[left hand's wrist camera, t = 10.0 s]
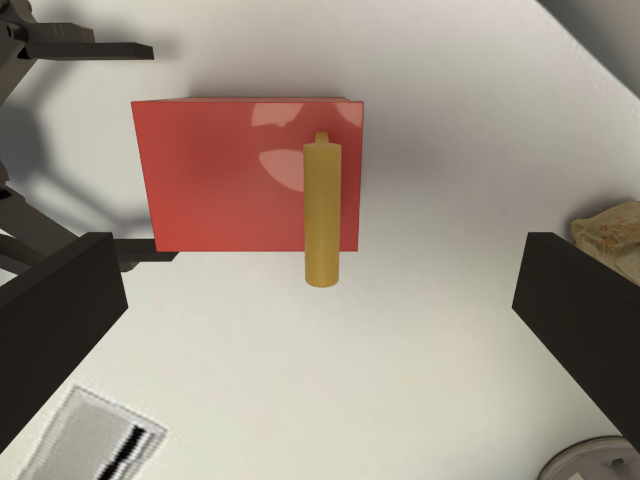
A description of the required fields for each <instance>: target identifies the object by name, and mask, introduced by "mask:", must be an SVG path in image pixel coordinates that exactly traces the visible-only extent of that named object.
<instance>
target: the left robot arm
mask: <svg viewBox="0 0 640 480" xmlns="http://www.w3.org/2000/svg"><path fill="white" fill-rule="evenodd" d="M127 309H128V304H127V299H126V294H125V290H124V285H123V281H122V276H121V272H120V267H119V262H118V258H117V253H116V249H115V244H114V240H113V235H112V232H87V233H86V234H84V235H82V236H81V237H79V238H78V239H76V240H74V241H73V242H71V243H70V244H68V245H66V246H65V247H63V248H62V249H60V250H58V251H57V252H55V253H54V254H52V255H50V256H49V257H47V258H45V259H44V260H42V261H41V262H39V263H37V264H36V265H34V266H33V267H31V268H29V269H28V270H26V271H25V272H23V273H21V274H20V275H18V276H17V277H15V278H13V279H12V280H10V281H8V282H7V283H5V284H4V285H2V286H0V454H1V453H2V452H3V451H4V450H5V449H6V447H7V446H8V445H9V444H10V443H11V442H12V441H13V439H14V438H15V437H16V436H17V435H18V434H19V432H20V431H21V430H22V429H23V428H24V427H25V426H26V424H27V423H28V422H29V421H30V420H31V419H32V418H33V416H34V415H35V414H36V413H37V412H38V411H39V410H40V408H41V407H42V406H43V405H44V404H45V403H46V402H47V400H48V399H49V398H50V397H51V396H52V395H53V393H54V392H55V391H56V390H57V389H58V388H59V387H60V385H61V384H62V383H63V382H64V381H65V380H66V379H67V377H68V376H69V375H70V374H71V373H72V372H73V371H74V369H75V368H76V367H77V366H78V365H79V364H80V363H81V361H82V360H83V359H84V358H85V357H86V356H87V355H88V353H89V352H90V351H91V350H92V349H93V348H94V346H95V345H96V344H97V343H98V342H99V341H100V340H101V338H102V337H103V336H104V335H105V334H106V333H107V332H108V330H109V329H110V328H111V327H112V326H113V325H114V324H115V322H116V321H117V320H118V319H119V318H120V317H121V316H122V314H123V313H124V312H125V311H126V310H127ZM512 309H513V310H514V311H515V312H516V313H517V314H518V316H519V317H520V318H521V319H522V320H523V321H524V322H525V324H526V325H527V326H528V327H529V328H530V329H531V330H532V332H533V333H534V334H535V335H536V336H537V337H538V338H539V340H540V341H541V342H542V343H543V344H544V345H545V346H546V348H547V349H548V350H549V351H550V352H551V353H552V355H553V356H554V357H555V358H556V359H557V360H558V361H559V363H560V364H561V365H562V366H563V367H564V368H565V369H566V371H567V372H568V373H569V374H570V375H571V376H572V377H573V379H574V380H575V381H576V382H577V383H578V384H579V385H580V387H581V388H582V389H583V390H584V391H585V392H586V393H587V395H588V396H589V397H590V398H591V399H592V400H593V402H594V403H595V404H596V405H597V406H598V407H599V408H600V410H601V411H602V412H603V413H604V414H605V415H606V416H607V418H608V419H609V420H610V421H611V422H612V423H613V424H614V426H615V427H616V428H617V429H618V430H619V431H620V432H621V434H622V435H623V436H624V437H625V438H623V437H608V438H600V439H595V440H591V441H587V442H584V443H581V444H578V445H576V446H574V447H572V448H570V449H568V450H566V451H564V452H563V453H561V454H560V455H558V456H557V457H556V458H555V459H553V460H552V461H551V462H550V463H549V464H548V465H547V466H546V468H545V469H544V470H543V472H542V473H541V475H540V477H539V480H640V286H638V285H636V284H635V283H633V282H632V281H630V280H628V279H627V278H625V277H623V276H622V275H620V274H619V273H617V272H615V271H614V270H612V269H611V268H609V267H607V266H606V265H604V264H603V263H601V262H599V261H598V260H596V259H595V258H593V257H591V256H590V255H588V254H586V253H585V252H583V251H582V250H580V249H578V248H577V247H575V246H574V245H572V244H570V243H569V242H567V241H566V240H564V239H562V238H561V237H559V236H558V235H556V234H554V233H553V232H528V235H527V240H526V244H525V249H524V253H523V258H522V262H521V267H520V272H519V276H518V281H517V285H516V290H515V294H514V299H513V304H512Z"/></svg>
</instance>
